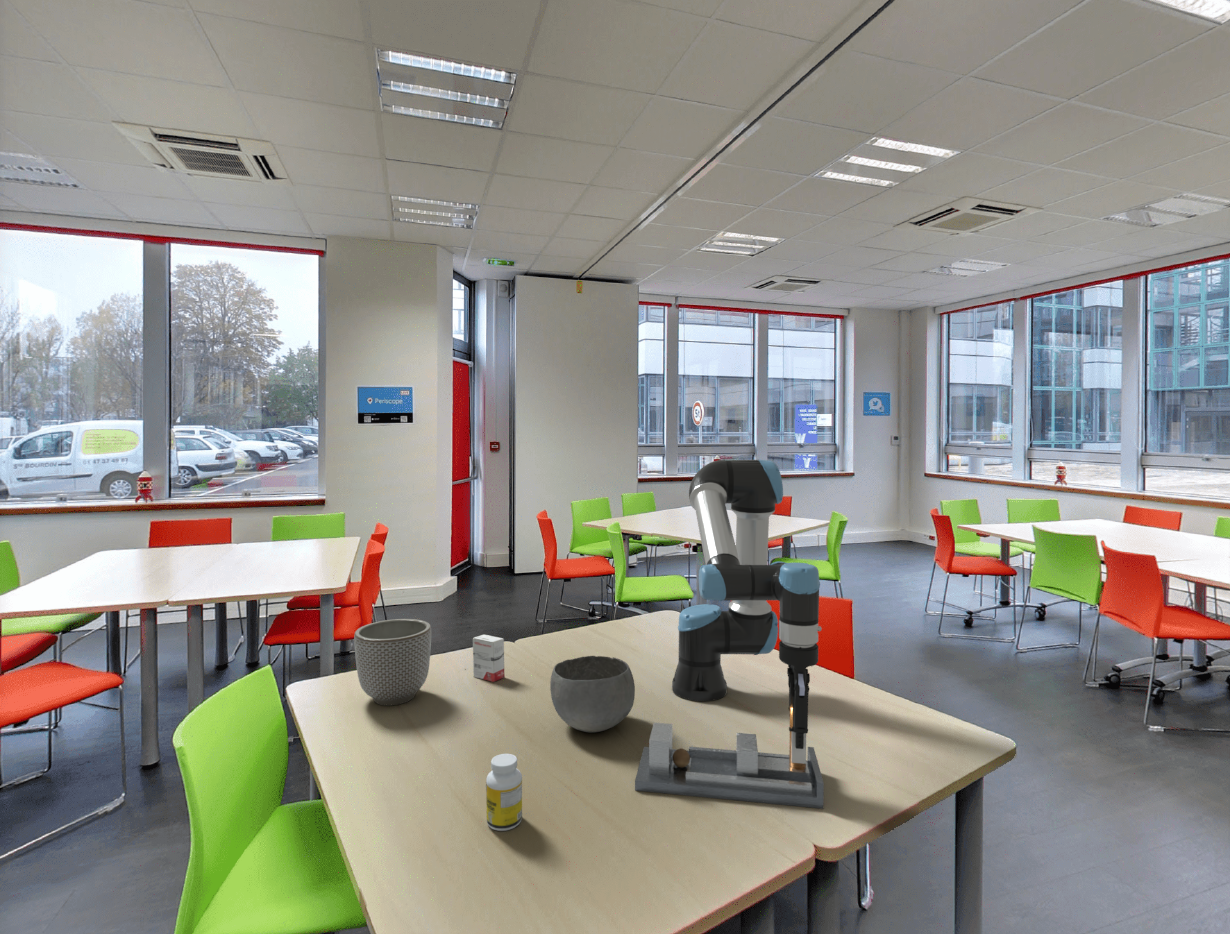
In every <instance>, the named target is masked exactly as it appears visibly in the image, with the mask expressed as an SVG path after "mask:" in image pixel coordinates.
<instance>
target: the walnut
mask: <svg viewBox="0 0 1230 934" xmlns="http://www.w3.org/2000/svg"><path fill="white" fill-rule="evenodd" d="M686 750H687V749H684V748H678V749H676V751H675V752H674V754H673V762H674V764H675V765H676V766H677V767H680V768H684V767H686V766H687V765H688V764H689V762H690V755H689V753H688V752H687V751H686Z"/></svg>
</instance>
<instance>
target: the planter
mask: <svg viewBox="0 0 1230 934" xmlns="http://www.w3.org/2000/svg"><path fill="white" fill-rule="evenodd" d="M353 636H354V637H353V641H354V642H353V644H354V653H355V654H354V655H355V664H356V665H355V666H356V672H357V678H358V682H359V685H360V687H361V689H362V691H363V692H364V693H365V694H366V695H367V696H369V697H370V698H372V700H373V701H374V702H375V704H377V705H380V706H398V705H402V704H405V703H408V702H409V701H411V700H412V699H413V698H414V697H415V695H416V693H417V692H418V691H419V690H420V689H421V688H422V687H423V685H424V684H425V682H426V680H427V678H428V675H429V670H430V661H431V648H432V645H431V644H432V626H431V624H430V623H429V622H428V621H425V620H422V619H414V618H396V619H395V618H394V619H386V620H385V619H384V620H380V621H376V622H370V623H368V624H365V625H363V626H360V627H358V628H357V630H355V632H354V635H353Z"/></svg>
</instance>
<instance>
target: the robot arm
mask: <svg viewBox="0 0 1230 934" xmlns="http://www.w3.org/2000/svg"><path fill="white" fill-rule="evenodd" d="M688 489H689V490H688V497H689V498H688V499H689V503H690V506H691V507H692V509H694V511H695V515H696V520H697V525H698V526H697V527H698V530H699V531H698V532H699V535H700V536H699V537H700V541H701V547H702V552H703V559H704V563H705V564H704V565H701V566H700V568H699V570H698V589H699V595H700V597H701V598H702V599H703V600H707V601H717V602H722V601H723V602H724V601H725V602H727V601H730V602H729V603H728V610H724V611H723V610H722V609H721V607H720V606H719V605H716V604H709V603H706V604H705V603H703V604H696V605H692V606H691V605H690V606H688V607H686V608H684V609H682V610H681V611H680V613H679V616H678V625H677V629H678V663H677V666H676V669H675V672H674V676H673V679H672V682H671V683H672V684H671V690H672V692H673V694H674V695H676V696H677V697H679V698H681V699H685V700H689V701H693V702H710V701H716V700H720V699H722V698H724V697H726V695H727V693H728V690H727V689H728V684H727V681H726V679H725V675H724V672H723V669H722V665H721V664H722V663H721V660H722V659H721V656H722V655H754V656H757V655H758V656H759V655H765V654H766V655H768V654H771V652H772V651H773V650H774V649H775V647H776V644H777V641H778V638H779V640H780V641H779V643H778V658H779V660H780V661H781V662H782V663H783V664H785V665H788V666H787V668H786V669H787V671H786V673H787V677H788V681H787V685H788V712H789V718H790V705H791V704H793V727H790V726H789V727H788V731H789V732H790V731H792V747H791V761H792V763H802V764H806V761H807V734H808V733H809V728H808V724H809V723H808V722H809V693H810V686H809V684H810V683H811V680H810V679H811V677H810V676H811V675H810V673H809V669H808V668H809V667H813V666H815V665H817V664H818V662H819V645H818V644H817V643H818V642H819V633H818V632H821V631H822V629H823V628H822V626H820V625H819V623H820V622H819V620H820V619H819V614H820V613H819V611H820V609H819V608H820V587H821V582H820V574H819V573H820V571H819V569H818V567H817V566H816V565H813V564H809V563H805V562H785V561H781V560H780V561H774V562H772V563H770V564H768V558H769V557H768V556H769V555H768V553H769V531H770V529H769V526H770V525H769V524H770V523H769V522H770V516H772V515H773V514H774V513H775V511H776V505H779V504H781V503H782V501H783V497H784V486H783V479H782V475H781V472H780V468H779V467H778V465H777V464H776V463H775V462H774V461H773V460H766V459H764V460H763V459H736V460H735V459H729V460H727V459H726V460H725V459H719V460H714V461H711V462H709V463H706V464H705V465H704V466H702V467H701V468H700V469H699V470H698V471H697V472H696V473H695V475H694V476H693V478H692V480H691V482H690V484H689V488H688ZM726 504H730V510H731V511H732V512H733V513H734V514H735V516H736V525H735V526H736V529H735V532H736V533H735V539H734V534H733V530H732V527H731V523H730V522H731V521H730V518H729V515H728V510H727V507H726ZM768 601H778V602H779V619H778V616H777V613H776V612H775V611H774V610H772V605H770V603H768Z"/></svg>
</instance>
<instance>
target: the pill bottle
mask: <svg viewBox="0 0 1230 934" xmlns="http://www.w3.org/2000/svg"><path fill="white" fill-rule="evenodd" d="M517 767H518V758H517V756H516V755H514V754H511V753H500V754H497V755H495V756H493V757H492V758H491V761H490V769H491V771H489V772H488V774H487V776H486V778H485V779H486V782H485V783H486V784H485V788H486V789H485V790H486V798H485V799H486V824H487V825H488V827H489V828H490V829H492V830H495V831H499V832H506V831H510V830H513V829H515V828H516V827H517V826H518V825H520V823H521V822H522V820H523V775H522V772H521V771H520V769H518V768H517Z"/></svg>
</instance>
